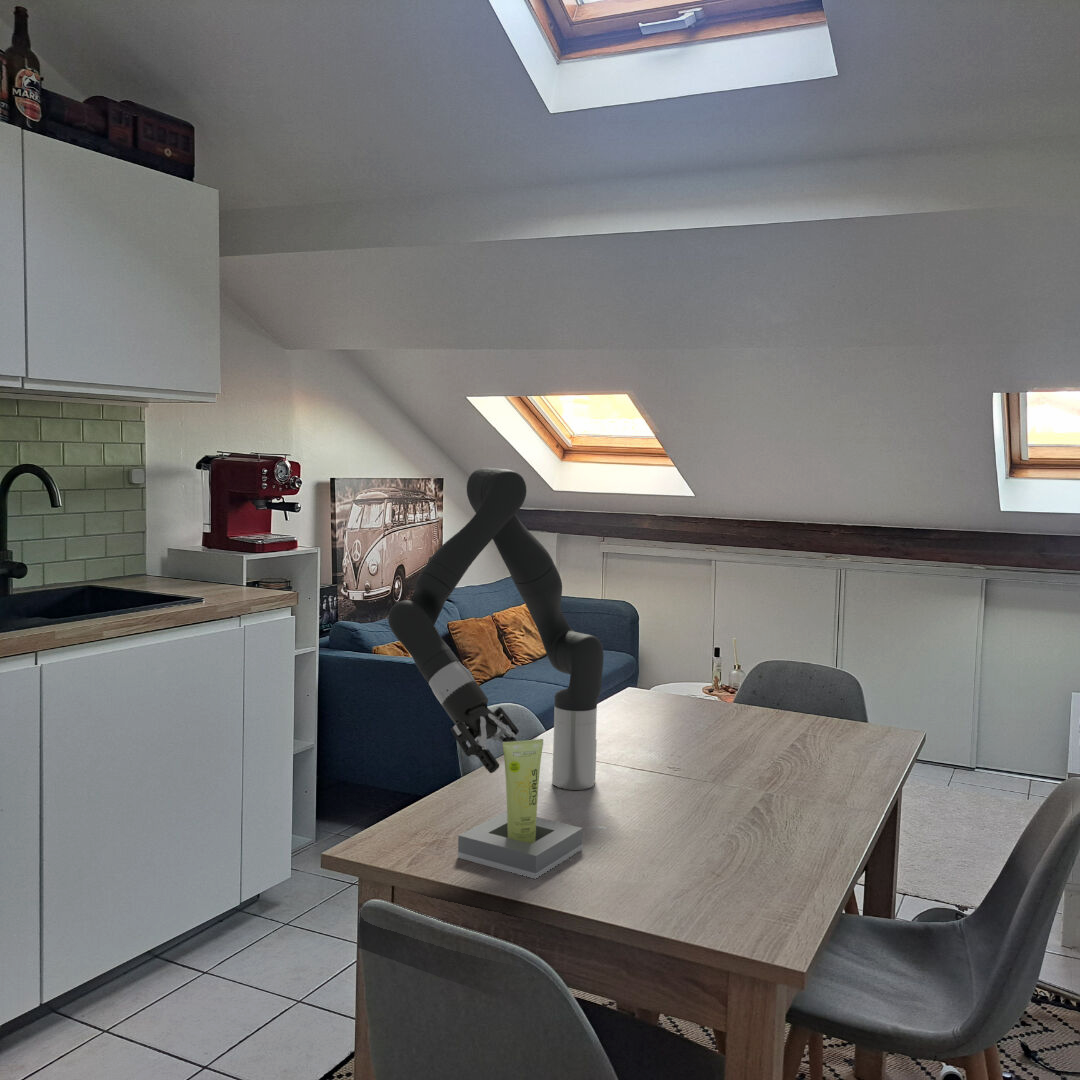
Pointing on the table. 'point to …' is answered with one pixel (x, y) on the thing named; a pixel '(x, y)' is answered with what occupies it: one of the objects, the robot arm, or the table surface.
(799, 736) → the table surface
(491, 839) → the holder
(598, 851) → the table surface
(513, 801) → the tube
